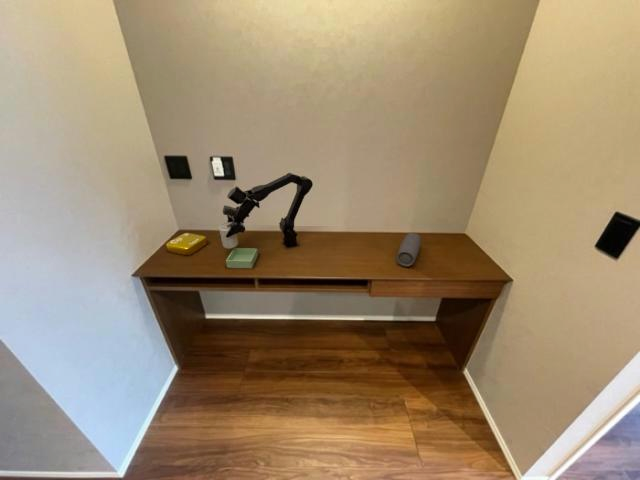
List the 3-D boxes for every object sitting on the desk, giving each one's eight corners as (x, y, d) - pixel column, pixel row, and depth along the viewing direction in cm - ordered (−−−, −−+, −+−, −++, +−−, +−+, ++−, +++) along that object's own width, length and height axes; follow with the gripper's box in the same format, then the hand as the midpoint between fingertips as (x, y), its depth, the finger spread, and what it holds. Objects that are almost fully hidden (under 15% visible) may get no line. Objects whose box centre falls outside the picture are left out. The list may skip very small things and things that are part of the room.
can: (236, 249, 130) (232, 227, 124) (221, 249, 130) (216, 227, 124) (239, 241, 137) (236, 221, 131) (225, 242, 137) (221, 221, 131)
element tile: (189, 256, 136) (186, 248, 133) (166, 251, 140) (163, 243, 138) (208, 243, 148) (207, 235, 146) (187, 238, 152) (185, 231, 150)
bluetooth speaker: (402, 245, 149) (405, 230, 144) (419, 249, 145) (423, 233, 140) (393, 265, 130) (397, 248, 126) (413, 270, 127) (417, 253, 122)
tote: (257, 255, 138) (257, 248, 136) (252, 268, 127) (251, 261, 125) (234, 254, 138) (233, 248, 136) (227, 267, 127) (225, 260, 125)
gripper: (228, 194, 131) (209, 218, 132) (234, 206, 116) (212, 233, 117) (246, 206, 137) (228, 229, 139) (254, 219, 123) (233, 245, 124)
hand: (225, 233), depth 129 cm, fingers closed on can, 7 cm apart
